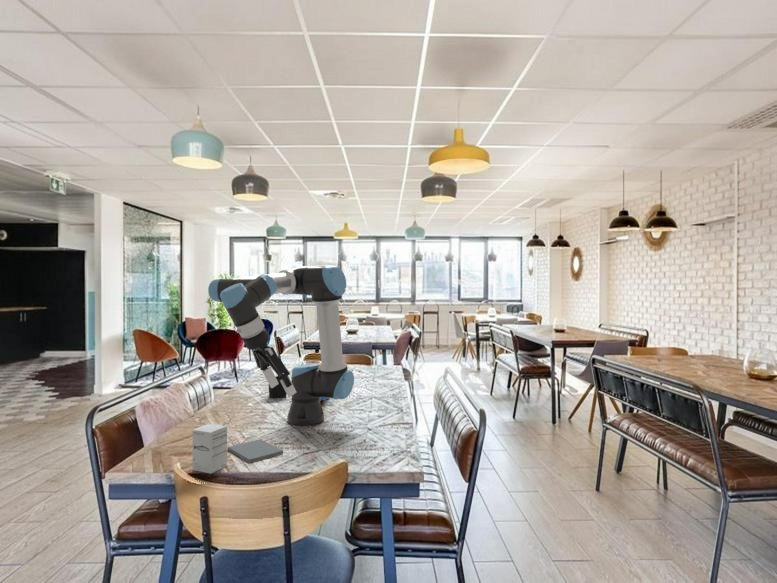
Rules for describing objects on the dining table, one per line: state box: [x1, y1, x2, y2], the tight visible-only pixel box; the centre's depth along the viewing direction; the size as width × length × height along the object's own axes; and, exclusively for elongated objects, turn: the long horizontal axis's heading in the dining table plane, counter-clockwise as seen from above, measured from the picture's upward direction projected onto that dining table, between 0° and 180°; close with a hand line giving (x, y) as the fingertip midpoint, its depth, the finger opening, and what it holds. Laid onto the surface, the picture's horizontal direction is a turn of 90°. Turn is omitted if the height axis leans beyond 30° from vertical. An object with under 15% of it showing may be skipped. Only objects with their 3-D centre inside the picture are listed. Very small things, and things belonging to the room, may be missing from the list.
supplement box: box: [192, 423, 228, 475], centre depth 143 cm, size 7×7×13 cm
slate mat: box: [227, 438, 284, 463], centre depth 157 cm, size 16×12×1 cm
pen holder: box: [268, 375, 288, 399], centre depth 237 cm, size 9×9×10 cm
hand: (283, 390), depth 147 cm, fingers open, 13 cm apart
